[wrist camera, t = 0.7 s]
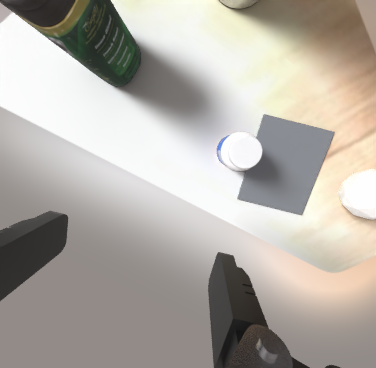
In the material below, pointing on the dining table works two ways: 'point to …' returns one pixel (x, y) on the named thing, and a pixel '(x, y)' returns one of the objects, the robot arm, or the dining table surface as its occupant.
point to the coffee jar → (85, 34)
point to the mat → (285, 164)
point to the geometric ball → (360, 194)
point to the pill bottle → (239, 151)
